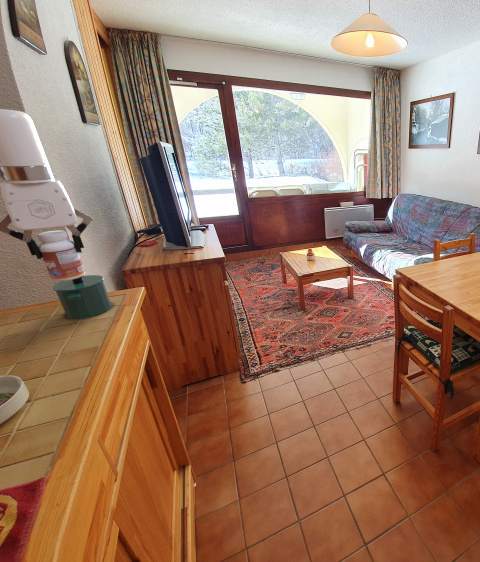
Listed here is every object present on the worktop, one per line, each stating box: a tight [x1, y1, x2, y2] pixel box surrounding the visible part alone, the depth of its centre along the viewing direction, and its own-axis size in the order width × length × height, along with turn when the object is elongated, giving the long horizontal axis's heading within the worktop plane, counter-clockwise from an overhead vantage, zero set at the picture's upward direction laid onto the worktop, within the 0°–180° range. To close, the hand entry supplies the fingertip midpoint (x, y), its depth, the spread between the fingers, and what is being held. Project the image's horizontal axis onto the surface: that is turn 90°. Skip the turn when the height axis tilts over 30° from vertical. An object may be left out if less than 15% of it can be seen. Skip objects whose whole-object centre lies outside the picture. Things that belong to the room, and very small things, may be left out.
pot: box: [55, 281, 112, 320], centre depth 88 cm, size 10×15×8 cm, turn 30°
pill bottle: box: [37, 230, 86, 282], centre depth 73 cm, size 6×6×11 cm
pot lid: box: [52, 274, 105, 292], centre depth 85 cm, size 11×11×5 cm
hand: (60, 253), depth 73 cm, fingers closed on pill bottle, 6 cm apart
